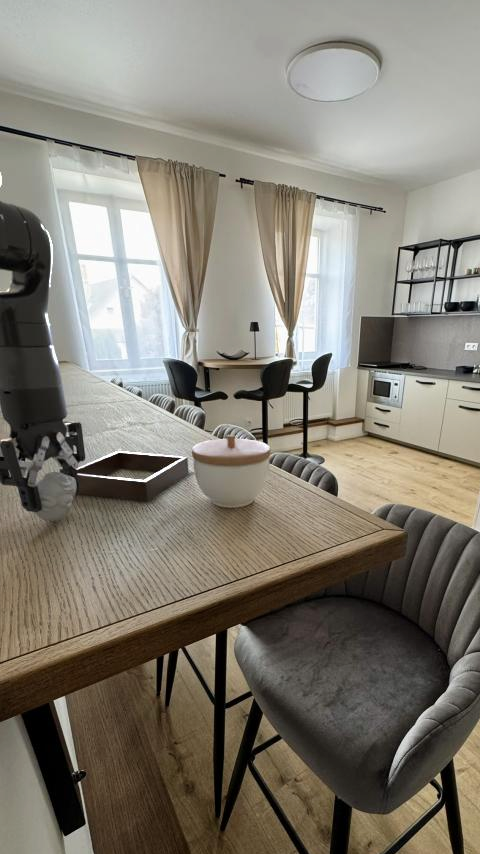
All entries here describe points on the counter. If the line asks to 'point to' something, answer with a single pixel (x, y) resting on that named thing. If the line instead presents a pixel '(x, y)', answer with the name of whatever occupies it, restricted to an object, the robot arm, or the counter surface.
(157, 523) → the counter surface
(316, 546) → the counter surface
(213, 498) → the lidded bowl
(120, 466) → the square wooden tray
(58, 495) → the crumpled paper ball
